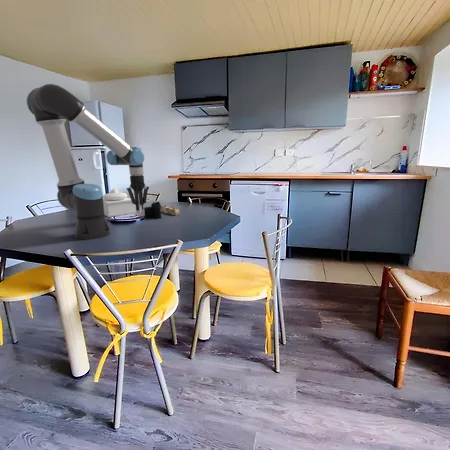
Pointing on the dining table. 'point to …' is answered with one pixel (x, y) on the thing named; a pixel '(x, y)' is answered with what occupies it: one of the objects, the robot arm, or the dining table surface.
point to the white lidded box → (117, 204)
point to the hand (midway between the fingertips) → (140, 215)
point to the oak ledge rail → (170, 210)
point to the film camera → (153, 210)
